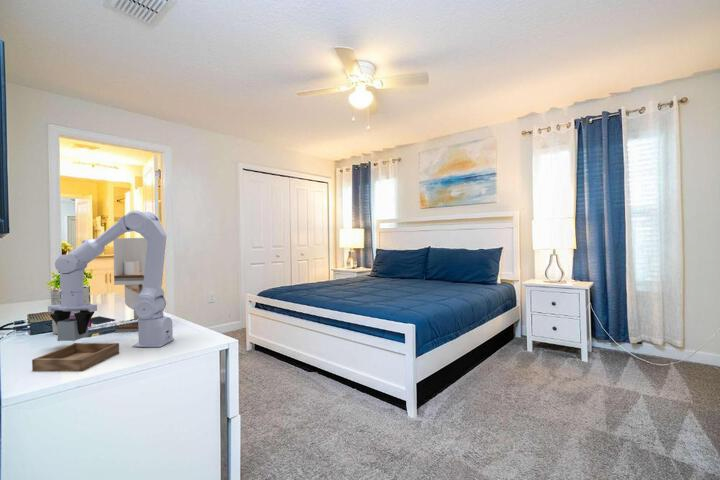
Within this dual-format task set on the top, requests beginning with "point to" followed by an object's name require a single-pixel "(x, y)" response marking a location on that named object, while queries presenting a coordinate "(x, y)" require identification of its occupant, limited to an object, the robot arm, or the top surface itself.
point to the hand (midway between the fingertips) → (73, 333)
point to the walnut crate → (75, 357)
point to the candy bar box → (57, 301)
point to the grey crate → (69, 330)
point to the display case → (130, 272)
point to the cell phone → (100, 320)
